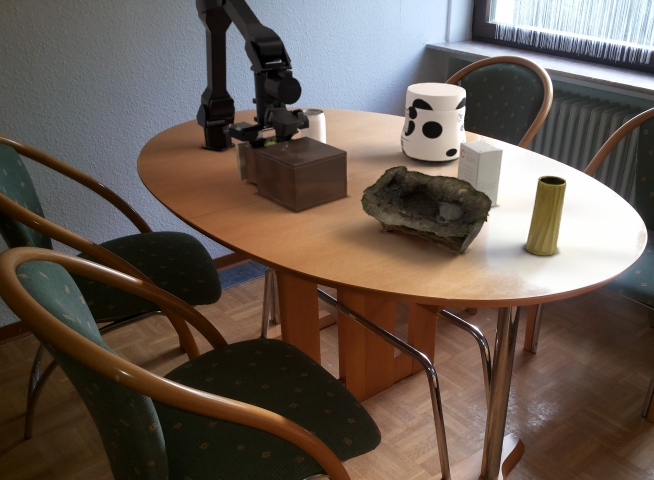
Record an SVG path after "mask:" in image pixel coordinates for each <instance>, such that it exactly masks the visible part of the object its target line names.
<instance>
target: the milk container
mask: <svg viewBox="0 0 654 480" xmlns="http://www.w3.org/2000/svg"><path fill="white" fill-rule="evenodd" d="M466 97H467V93H466V89H465V88H463V87H461V86H459V85H455V84H450V83H442V82H419V83H413V84H411V85H409V86H408V87H407V89H406V95H405V107H404V124H403V127H402V130H401V133H400V148H401V151H402V153H403V154H404V155H405V156H406V157H407V158H409V159H411V160H413V161H417V162H420V163H427V164H444V163H445V164H446V163H450V162H453V161H456V160H459V153H460V143H461V142H467V140H466V139H467V138H466V131H465V121H464V120H465V114H466V102H467V100H466V99H467V98H466Z"/></svg>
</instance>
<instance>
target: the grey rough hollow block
mask: <svg viewBox="0 0 654 480" xmlns="http://www.w3.org/2000/svg"><path fill="white" fill-rule="evenodd" d="M362 193H363V195H362V196H361V198H360V203H361V206H362V210H363V211H364V213H365V214H366V215H367V216H370V217H372V218H374V219H375V220H376V221H378V222H379V223H380V224H381V227H382V231H391V230H395V231H396V230H399V231H402V232H403V233H404V234H407V235H408V234H411V235H414V236H417V237H422V238H423V239H425V240H426V241H427V242H431V243H432V244H435V245H439V246H441V247H442V248H446V249H448V250H450V251H454V252H460V253H462V254H464V253H465V252H466V250H467V249H468V248H469V246H470V245H471V244H472V243H473V241H474V240H475V239H476V238H477V237H478V235H479V233H480V232H481V230H482V228H483V227H484V224H485V223H487V222H488V217H490V214H489V212H490V211H491V208H492V206H491V204H492V201H491V200H490V198H489V197H488V195H485V193H484V192H481V191H477V190H476V189H475V188H474V187H473V186H472V185H471V184H470V183H469V182H467V181H465V180H460V179H458V178H457V177H455V176H449V175H430V174H427V173H424V172H421V171H417V170H409V169H408V167H407V166H406V165H397V166H392V167H390V168H387V169H385V171H384V173H383V174H381V175H380V177H379V178H378V179H377V180H376V181H375V182H374V183H372V185H370V186H367V187H365V189H364V190H362Z"/></svg>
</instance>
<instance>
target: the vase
mask: <svg viewBox="0 0 654 480" xmlns="http://www.w3.org/2000/svg"><path fill="white" fill-rule="evenodd" d="M567 183H568V182H567V180H566V179H565V178H563V177H560V176H556V175H543V176H539V177H538V179H537V185H536V190H535V196H534V197H535V198H534V203H533V204H534V205H533V209H532V215H531V219H530V225H529V229H528V235H527V240H526V244H525V249H526V250H527V251H528V252H529V253H532V254H533V255H537V256H552V255H555V254H556V253H557V251H558V241H559V235H560V227H561V221H562V215H563V208H564V201H565V194H566V188H567Z"/></svg>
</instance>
